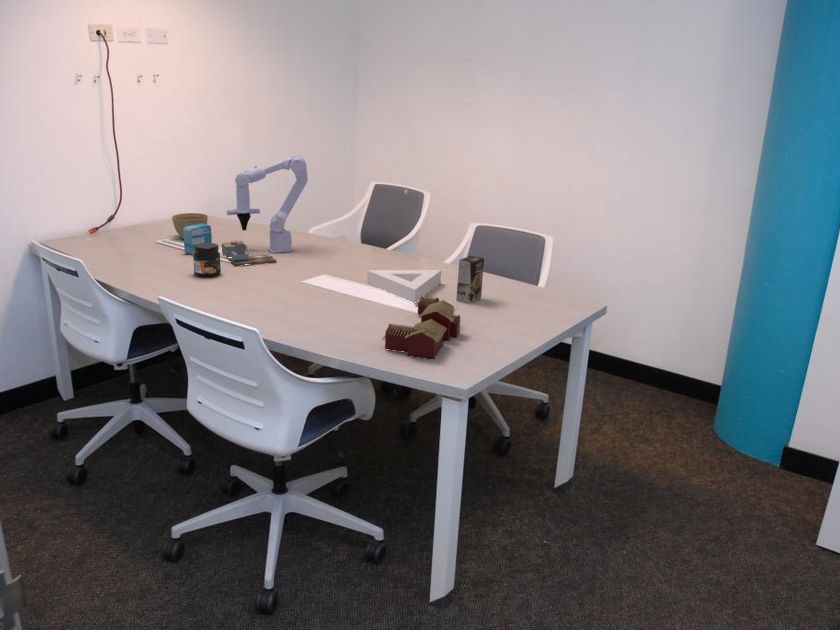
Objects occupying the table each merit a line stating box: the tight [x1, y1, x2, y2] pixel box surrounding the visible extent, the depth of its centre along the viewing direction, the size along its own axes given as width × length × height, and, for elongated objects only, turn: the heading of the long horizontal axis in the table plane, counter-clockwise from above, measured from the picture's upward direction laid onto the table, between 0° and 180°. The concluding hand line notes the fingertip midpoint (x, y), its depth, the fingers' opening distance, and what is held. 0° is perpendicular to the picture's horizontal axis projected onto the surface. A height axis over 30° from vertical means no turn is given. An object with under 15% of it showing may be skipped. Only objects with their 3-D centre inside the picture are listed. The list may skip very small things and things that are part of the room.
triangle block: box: [366, 269, 442, 303], centre depth 291 cm, size 30×26×6 cm
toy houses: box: [381, 295, 461, 360], centre depth 246 cm, size 45×20×10 cm, turn 166°
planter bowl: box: [171, 212, 209, 240], centre depth 352 cm, size 16×16×11 cm
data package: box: [183, 224, 213, 256], centre depth 329 cm, size 12×4×12 cm, turn 147°
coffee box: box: [455, 255, 485, 305], centre depth 280 cm, size 9×6×16 cm
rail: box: [228, 254, 277, 267], centre depth 320 cm, size 18×10×2 cm, turn 118°
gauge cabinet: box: [221, 241, 248, 258], centre depth 328 cm, size 9×8×5 cm
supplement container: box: [192, 242, 222, 278], centre depth 297 cm, size 10×10×12 cm
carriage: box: [231, 240, 250, 261], centre depth 316 cm, size 6×6×7 cm
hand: (244, 230), depth 334 cm, fingers closed
